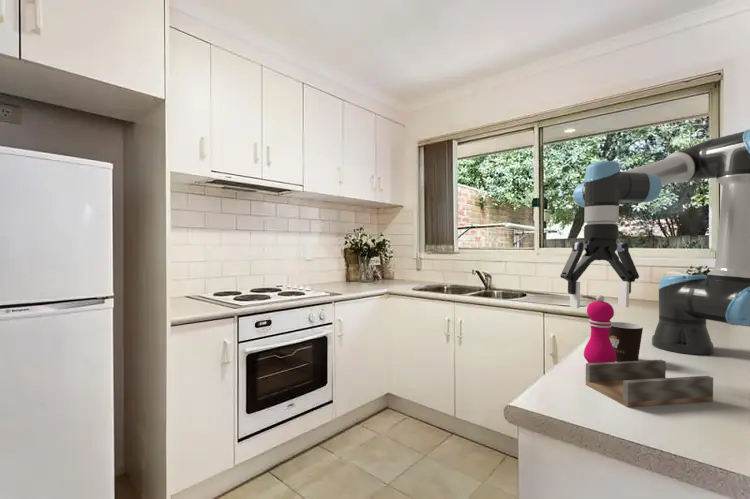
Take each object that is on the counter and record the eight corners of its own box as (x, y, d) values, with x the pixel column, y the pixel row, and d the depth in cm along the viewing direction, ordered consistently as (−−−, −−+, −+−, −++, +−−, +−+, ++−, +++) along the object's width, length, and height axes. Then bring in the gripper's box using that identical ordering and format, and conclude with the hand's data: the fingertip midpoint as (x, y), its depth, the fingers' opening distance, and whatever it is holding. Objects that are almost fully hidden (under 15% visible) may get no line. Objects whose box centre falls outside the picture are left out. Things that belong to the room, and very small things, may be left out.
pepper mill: (588, 366, 103) (589, 292, 102) (619, 372, 97) (620, 295, 97) (579, 372, 98) (580, 295, 97) (611, 380, 92) (612, 298, 92)
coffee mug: (648, 365, 103) (649, 329, 103) (613, 363, 105) (614, 327, 104) (629, 353, 114) (629, 320, 114) (597, 351, 116) (598, 319, 116)
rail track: (660, 380, 92) (661, 359, 92) (712, 401, 80) (713, 377, 80) (585, 384, 90) (585, 363, 89) (627, 407, 77) (627, 382, 77)
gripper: (632, 225, 102) (631, 303, 103) (546, 223, 99) (545, 305, 99) (657, 223, 95) (655, 308, 95) (565, 222, 91) (563, 310, 92)
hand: (599, 307), depth 97 cm, fingers open, 13 cm apart
